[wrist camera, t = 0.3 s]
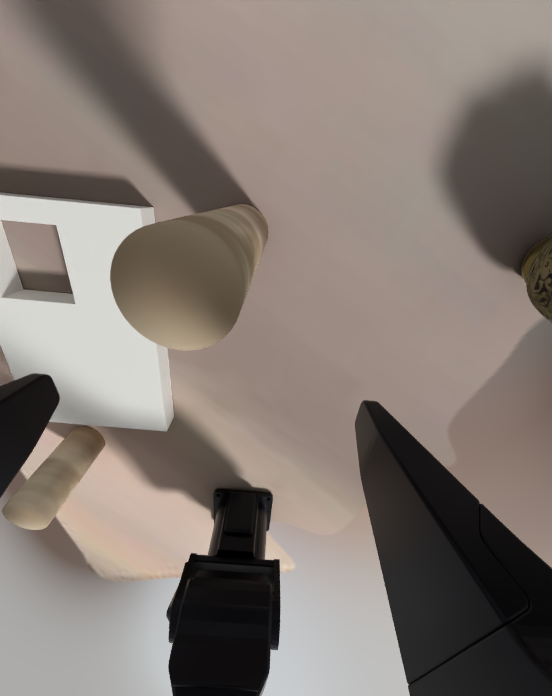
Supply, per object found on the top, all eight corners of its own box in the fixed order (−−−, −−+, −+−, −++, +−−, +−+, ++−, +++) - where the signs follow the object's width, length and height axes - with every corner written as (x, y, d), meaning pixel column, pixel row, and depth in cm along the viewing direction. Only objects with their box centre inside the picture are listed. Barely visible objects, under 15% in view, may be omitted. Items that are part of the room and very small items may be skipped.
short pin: (107, 452, 30) (54, 531, 23) (74, 450, 30) (10, 528, 23) (101, 428, 29) (42, 504, 22) (66, 425, 29) (-5, 500, 22)
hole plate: (174, 416, 28) (166, 431, 26) (46, 405, 28) (30, 420, 26) (153, 207, 19) (140, 208, 18) (-30, 189, 19) (-62, 188, 17)
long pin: (266, 259, 21) (239, 355, 8) (218, 255, 21) (121, 345, 8) (269, 206, 19) (243, 229, 7) (218, 201, 19) (97, 215, 7)
